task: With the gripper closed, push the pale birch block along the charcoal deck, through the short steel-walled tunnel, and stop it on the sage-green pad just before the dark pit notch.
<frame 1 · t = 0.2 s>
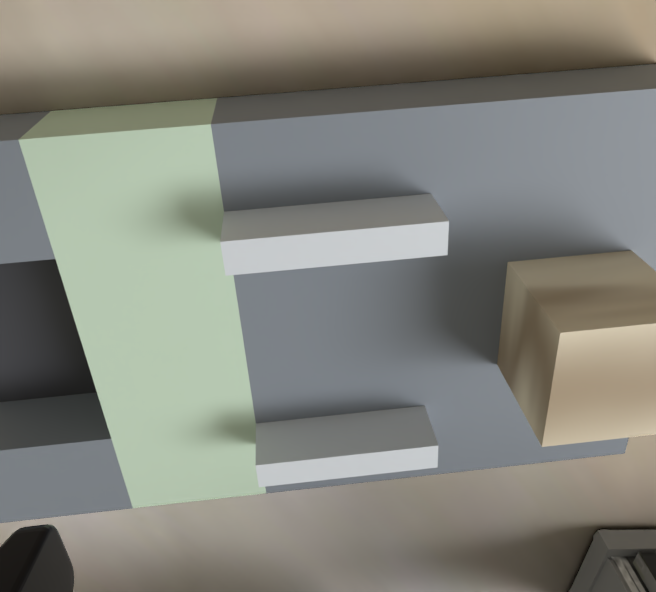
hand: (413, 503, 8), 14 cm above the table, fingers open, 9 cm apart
birch block: (561, 310, 21), point 3 cm above the table, touching tunnel deck
tunnel deck: (300, 289, 23), on the table
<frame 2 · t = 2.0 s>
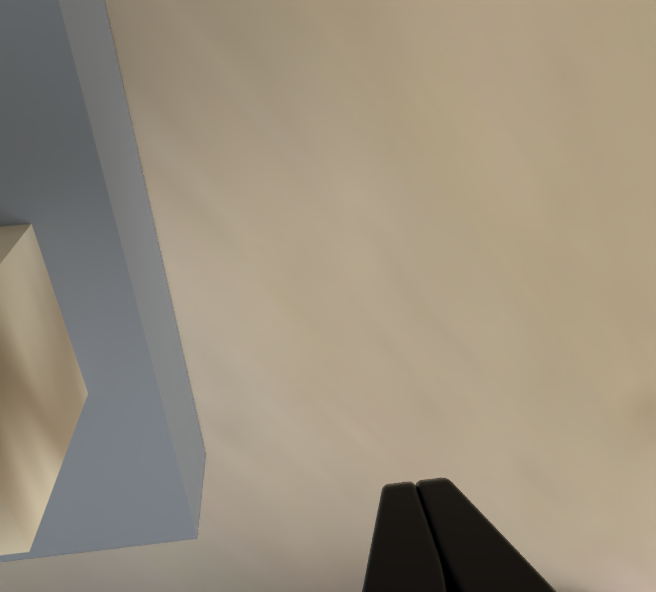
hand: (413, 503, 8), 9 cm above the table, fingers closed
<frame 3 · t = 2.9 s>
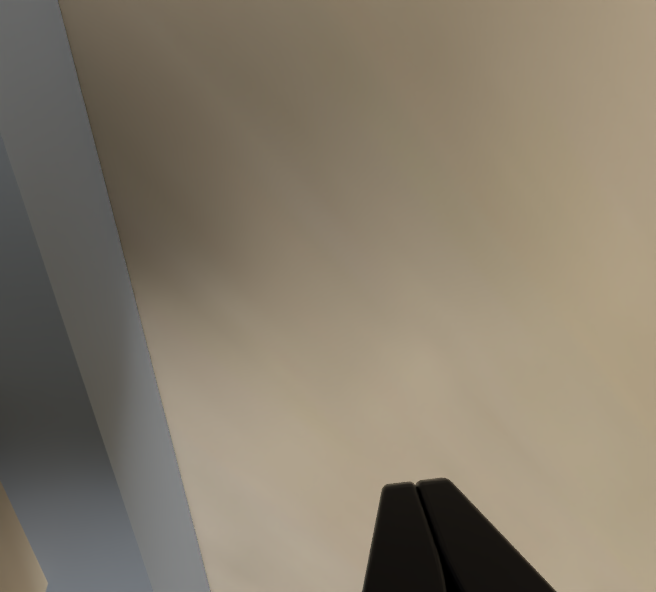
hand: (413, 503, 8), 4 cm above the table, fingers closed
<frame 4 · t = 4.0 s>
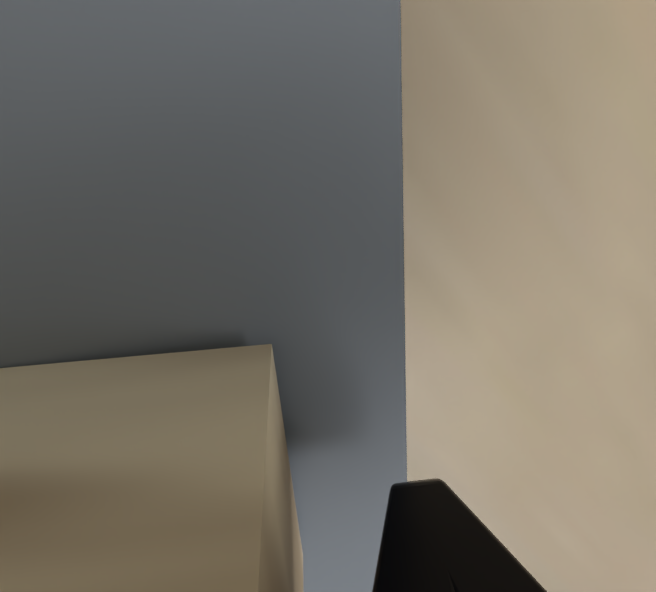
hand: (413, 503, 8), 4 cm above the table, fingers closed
birch block: (146, 474, 9), point 3 cm above the table, touching gripper, tunnel deck
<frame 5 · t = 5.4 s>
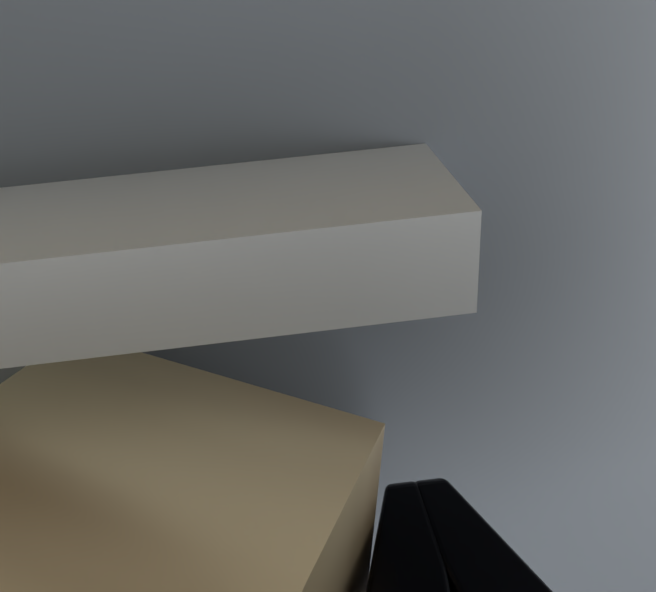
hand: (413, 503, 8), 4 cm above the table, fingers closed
birch block: (223, 500, 8), point 4 cm above the table, tilted 28°, touching gripper, tunnel deck
tunnel deck: (174, 359, 12), on the table
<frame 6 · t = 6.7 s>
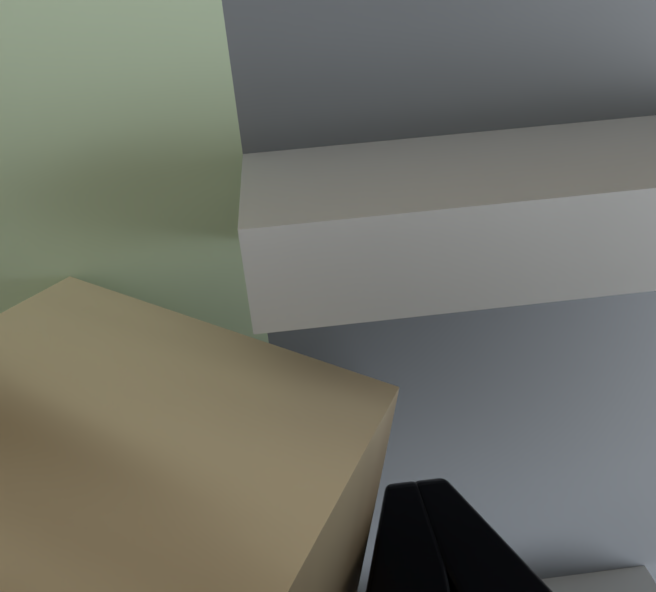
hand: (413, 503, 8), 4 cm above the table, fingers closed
birch block: (216, 465, 8), point 4 cm above the table, tilted 28°, touching gripper, tunnel deck
tunnel deck: (386, 331, 12), on the table
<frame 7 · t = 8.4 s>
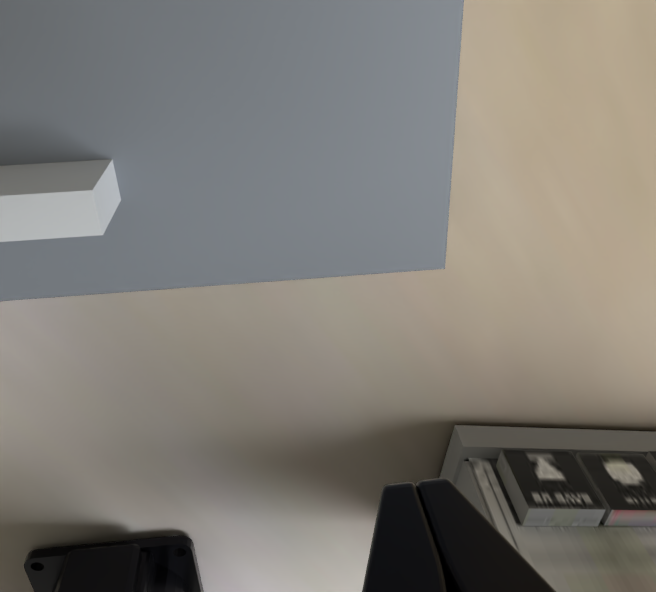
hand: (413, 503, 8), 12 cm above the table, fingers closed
cassette tape recorder: (596, 473, 26), on the table
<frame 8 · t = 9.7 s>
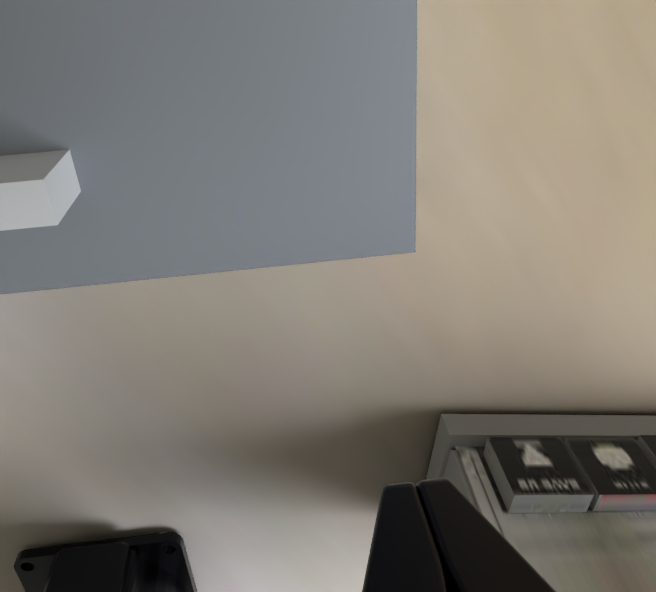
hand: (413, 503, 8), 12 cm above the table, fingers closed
cassette tape recorder: (589, 460, 26), on the table
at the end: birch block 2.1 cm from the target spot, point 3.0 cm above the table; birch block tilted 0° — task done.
